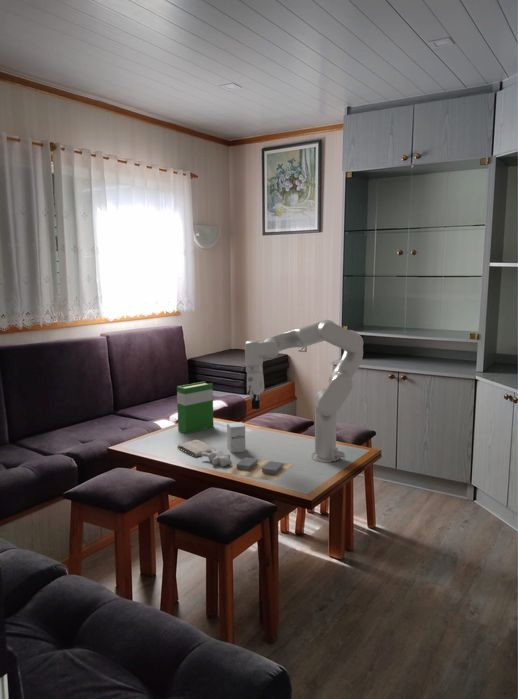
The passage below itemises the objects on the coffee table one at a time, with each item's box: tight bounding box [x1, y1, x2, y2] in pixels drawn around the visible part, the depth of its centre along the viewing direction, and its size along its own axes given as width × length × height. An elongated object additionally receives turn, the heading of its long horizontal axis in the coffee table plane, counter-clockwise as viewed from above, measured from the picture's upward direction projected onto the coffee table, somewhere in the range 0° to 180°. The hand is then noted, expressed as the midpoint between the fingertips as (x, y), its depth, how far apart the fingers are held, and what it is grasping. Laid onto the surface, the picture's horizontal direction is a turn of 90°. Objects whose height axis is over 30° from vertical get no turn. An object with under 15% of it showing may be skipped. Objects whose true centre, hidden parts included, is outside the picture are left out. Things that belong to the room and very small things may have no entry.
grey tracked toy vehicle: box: [177, 439, 217, 458], centre depth 261 cm, size 12×18×3 cm, turn 39°
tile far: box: [235, 457, 259, 470], centre depth 239 cm, size 6×2×9 cm
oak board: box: [225, 458, 293, 482], centre depth 236 cm, size 23×20×1 cm
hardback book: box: [176, 381, 214, 434], centre depth 293 cm, size 18×7×24 cm, turn 131°
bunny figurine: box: [200, 448, 232, 467], centre depth 244 cm, size 10×5×15 cm
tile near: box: [262, 460, 284, 475], centre depth 234 cm, size 6×2×9 cm
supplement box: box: [226, 421, 246, 453], centre depth 260 cm, size 7×7×13 cm
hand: (255, 408), depth 246 cm, fingers closed
